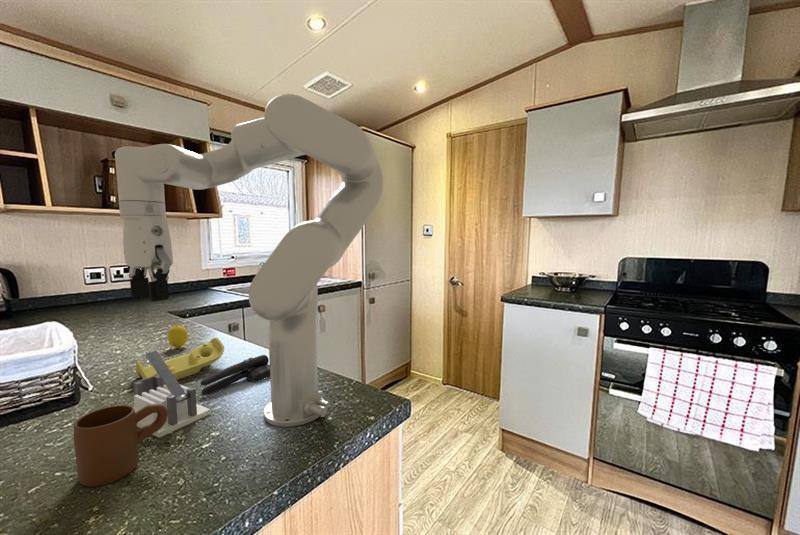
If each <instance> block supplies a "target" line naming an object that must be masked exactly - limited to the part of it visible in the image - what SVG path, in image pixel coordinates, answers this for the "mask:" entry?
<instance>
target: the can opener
mask: <svg viewBox="0 0 800 535" xmlns="http://www.w3.org/2000/svg"><path fill="white" fill-rule="evenodd" d="M269 363H270V360H269V357H268V355H266V354H261V355H259V356H255V357H249V358H246V359H244V360H243V361H241V362H239V363H236V364H233V365H230V366H228V367H226V368H224V369H221V370H218V371H217V372H215V373H213V374H211V375H210V376H207V377H206V378H203V379H202V380H200V385H201V386H204V388H202V390H201V394H204V395H208V394H211V393H215V392H218V391H220V390H222V389H224V388H226V387H229V386H231V385H232V384H234V383H236V382H238V381H241V380H242V379H247V380H249V381H252V382H255V381H257V382H260V381H262V379H263V380H265V379H267V378H268V376H269V377H270V364H269ZM266 377H267V378H266ZM264 378H265V379H264ZM259 380H260V381H259Z"/></svg>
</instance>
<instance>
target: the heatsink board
mask: <svg viewBox="0 0 800 535" xmlns="http://www.w3.org/2000/svg"><path fill="white" fill-rule="evenodd" d="M180 386H181V387H182V389H183V390H184V392H185V393H186V394H187V393H189V395H190V398H188V399H186V400H184V401H181V402H179V403H176V396H174V395H172V394H171V393H170V391H169V390H168V388H167V387H166V385H165V384H164V385H163V381H162V379H161V378H160V376H159V375H155V376H151V377H148V378H145V379H143V378H142V379H140V380H136V381H134V382H132V388H133V390H132V391H133V392H132V393H133V403H134V405H133V406H132V407H133V408H134V410H135V412H137V411H139V410H141V409H142V408H144V407H145V406H147V405H150V404H161V405H163V406H165V407H166V409H167V411H168V416H167V420H166V422H165V424H164V425H163V426H162V427H161V428H160V429H159V430H158V431H156V432H155V433H153V434H151V435H152V436H154V437H156V438H158V439H159V438H162V437H164V436H167V435H169V434H170V433H173V432H174V431H176V430H177V431H178V430H179V429H181V428H184V427H185V426H188V425H189V424H192V423H194V422H196V421H198V420H200V419H202V418H205V417H207V416H209V415H211V409H210V408H207V407H205V406H203V405H201V404H198V403H197V393H196V388H194V387H192V386H191V387H188V386H185V385H182V384H180ZM156 418H157V413H152V414H150V415H149V416H147V417H145V418H144V419H142V420H141V421H139V422H138V423H137V428H139V429H141V428H142V427H144V426H146V425H149V424H151V423H153V422H154V421H155V420H156Z"/></svg>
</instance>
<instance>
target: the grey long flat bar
mask: <svg viewBox="0 0 800 535" xmlns="http://www.w3.org/2000/svg"><path fill="white" fill-rule="evenodd" d="M145 357H146V358H147V359H148V361H149V362H150V364H151V365H152V366H153V367H154V369H155V370H156V372H157V373H158V375H159V376H160V378H161V379H162V381H163V382H164V385H166V387H167V388H168V390H169V391H170V393H171V394H172V395H174V396H176V403H179V402H181V401H184V400H186V399H188V398H190V395H189V393H187V394H186V393H185V392H184V390H183V389H182V387H181V386H180V385H181V384H180V383H179V382H178V380H176V378H175V377H174V375H173V374H172V372H171V371H170V370H169V368H168V367H167V365H166V364H165V362H164V361H165V360H163V358H162V356H161V355H160V353H159V352H158V351H157V350H154V351H150V352H147V353H145Z"/></svg>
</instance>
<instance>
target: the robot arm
mask: <svg viewBox="0 0 800 535" xmlns="http://www.w3.org/2000/svg"><path fill="white" fill-rule="evenodd" d="M230 137H231V140H230V141H229V143H228V144H226V145H225V146H223V147H221V148H218V149H215V150H211V151H208V152H203V153H199V154H198V153H196V152H194V151H190V150H188V149H186V148H182V147H180V146H177V145H174V144H170V143H169V144H168V143H160V144H159V143H158V144H153V145H148V146H143V147H140V146H121V147H118V148H117V149H116V150H115V154H114V159H115V160H114V162H115V170H116V182H117V183H116V185H117V196H118V207H119V215H120V216H119V218H120V219H123V226H122V227H123V230H122V232H123V234H122V236H123V240H122V241H123V242H122V244H123V254H124V262H125V264H126V266H127V268H126V269H127V271H128V278H129V284H130V295H131V296H130V297H131V298H132V299H138V298H147V297H149V300H150V302H158V301H159V302H161V301H166V300H169V296H170V294H169V282H168V280H169V279H170V278H169V274H170V271H171V270H170V269H171V266H172V265H173V264H174V257H173V248H172V240H171V235H170V234H171V233H170V229H169V225H168V222H167V214H166V200H165V199H166V198H165V197H166V196H165V185H170V186H176V187H181V188H186V189H190V190H194V191H195V190H206V189H211V188H215V187H218V186H221V185H225V184H229V183H232V182H235V181H237V180H239V179H242V178H243V177H245V176H246V175H248V174H250V173H251V172H252V171H254V170H256V169H259V168H262V167H265V166H269V165H273V164H275V163H280V162H282V161H286V160H287V161H288V160H291V159H294V158H297V157H301V156H305V155H306V156H308V157H310V158H312V159H314V160H315V161H318V162H320V163H321V164H324V165H325V166H327V167H329V168H331V169H333V170H334V171H335V172H336V174H338V175H339V176H340V177H341V184H340V186H339V188H338V189H337V190H336V191H335V192H334V193H333V195H332V196H331V197H330V198H329V199H328V201H327V202H326V204H325V206H324V207H323V208H322V209H321V211H320V212H319V213H318V214H317V216H316V217H315V218H314V219H313V220H306V221H302V222H300V223H298V224H296V225H295V226H293V227H292V228H291V229H290V230H289V231H288V232H287V233H286V234H285V235H284V236H283V238H281V240H280V242H279V243H278V244H277V246H276V247H275V248H274V250H273V251H272V252H271V253H270V255H269V256H268V258H267V260H266V261H265V262H264V263H263V265H262V266H261V268H260V269H259V270H258V271H257V273H256V274H255V276H254V277H253V279H252V281H251V283H250V285H249V289H248V301H249V305H250V307H251V309H252V311H253V312H254V313H255V314H256V315H257V316H258V317H260V318H262V319H263V320H267V321H268V354H269V357H268V359H269V365H270V376H269V378H270V380H269V381H270V383H269V384H270V402H269V403H268V404H267V405H266V406H265V407H264V409H263V419H264V421H265V422H267V423H268V424H270V425H273V426H276V427H282V428H283V427H284V428H288V427H290V428H291V427H296V426H297V427H299V426H302V425H305V424H308V423H311V422H313V421H316V420H317V419H318V418H320V417H321V418H324V417H325V416H326V415H327V413H328V409H329V408H330V406H331V402H330V401H327V400H325V399H324V398H323V397H322V390H319V389H318V354H317V310H318V308H317V307H318V293H319V292H318V291H319V290H318V283H319V282H320V280H321V279H322V278H323V276H324V275H325V274H326V272H327V271H328V270H329V269H330V268H332V267H334V266H335V265H336V264H338V262H340V260H341V259H342V257H343V256H344V254H345V252H346V251H347V249H348V248H349V247H350V245H351V244H352V242H353V241H354V239H355V238H356V237H357V236H358V234H359V233H360V232H361V230H362V228H363V226H365V225H366V223H367V221H368V220H369V219H370V217H371V216H372V214H373V213H374V211H375V210H376V208H377V206H378V204H379V203H380V200H381V197H382V193H383V188H384V179H383V171H382V168H381V165H380V163H379V160H378V158H377V156H376V153H375V151H374V150H375V149H374V148H373V146H372V143H371V140H370V138H369V137H368V134H366V132H364V130H363V129H362V128H361V127H359V126H358V125H357V124H355V123H353V122H351V121H349V120H347V119H346V118H343V117H342V116H339V115H337V114H336V113H334V112H332V111H330V110H328V109H326V108H325V107H323V106H320V105H318V104H316V103H315V102H312V101H311V100H309V99H307V98H304V97H302V96H300V95H298V94H294V93H283V94H279V95H277V96H274V97H273V98H272V99H271V100H270V101H269V102H268V103H267V104H266V107H265V109H264V117H261V118H258V119H257V118H256V119H253V120H250V121H245V122H241V123H239V124H238V123H237V124H236V125H235V126H233V128H232V130H231V136H230ZM147 274H148V275H149V277H147ZM149 278H150V280H151V281H149Z"/></svg>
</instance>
